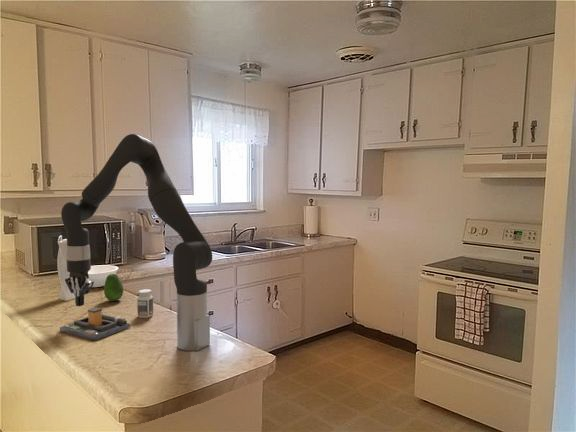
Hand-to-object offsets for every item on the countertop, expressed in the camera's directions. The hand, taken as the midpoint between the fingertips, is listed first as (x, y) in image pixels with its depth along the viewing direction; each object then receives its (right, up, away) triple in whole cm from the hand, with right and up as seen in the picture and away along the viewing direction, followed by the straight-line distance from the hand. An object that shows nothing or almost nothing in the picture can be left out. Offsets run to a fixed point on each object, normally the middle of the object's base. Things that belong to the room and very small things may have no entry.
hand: (79, 305), depth 144 cm
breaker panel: (+7, -8, -3) cm, 11 cm away
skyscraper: (-23, -5, +34) cm, 42 cm away
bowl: (-22, -3, +58) cm, 62 cm away
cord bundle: (+10, -6, +1) cm, 11 cm away
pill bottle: (+19, -7, +12) cm, 24 cm away
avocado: (-1, -5, +31) cm, 31 cm away
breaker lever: (+7, -6, -3) cm, 10 cm away
